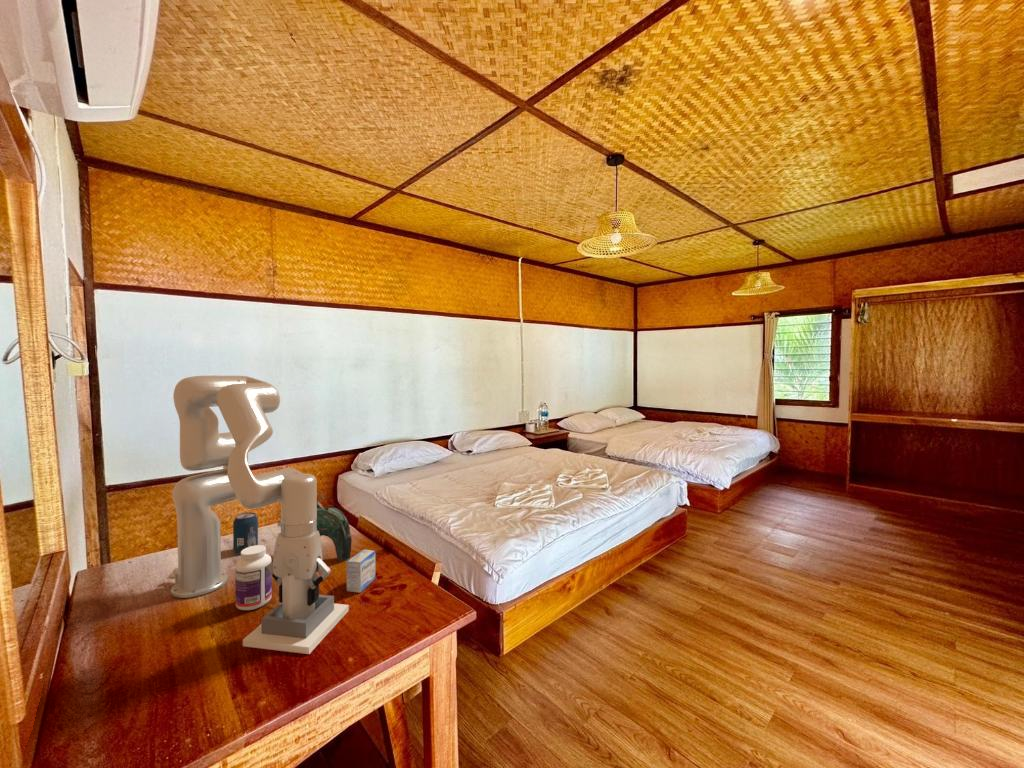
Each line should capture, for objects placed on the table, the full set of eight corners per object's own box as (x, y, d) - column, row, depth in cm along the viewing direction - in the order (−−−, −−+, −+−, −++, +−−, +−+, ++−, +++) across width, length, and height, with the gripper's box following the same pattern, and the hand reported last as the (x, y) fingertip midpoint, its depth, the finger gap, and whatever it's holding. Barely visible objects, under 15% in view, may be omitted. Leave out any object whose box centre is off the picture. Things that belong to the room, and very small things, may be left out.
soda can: (240, 546, 139) (240, 511, 138) (261, 545, 140) (261, 511, 139) (228, 555, 132) (228, 519, 131) (251, 554, 133) (251, 518, 132)
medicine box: (360, 593, 111) (360, 562, 111) (346, 591, 112) (346, 560, 112) (375, 579, 119) (375, 550, 118) (362, 577, 120) (362, 548, 119)
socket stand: (242, 646, 89) (242, 624, 89) (291, 604, 105) (291, 586, 105) (309, 654, 87) (309, 631, 87) (348, 610, 103) (348, 591, 103)
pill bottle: (259, 591, 111) (259, 540, 110) (278, 599, 107) (278, 546, 107) (228, 607, 104) (228, 552, 103) (247, 616, 100) (247, 559, 100)
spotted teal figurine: (296, 552, 135) (296, 493, 134) (312, 545, 141) (312, 488, 140) (341, 564, 127) (341, 502, 126) (356, 556, 133) (356, 496, 132)
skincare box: (307, 608, 100) (308, 560, 100) (316, 615, 97) (316, 566, 97) (281, 619, 95) (281, 569, 95) (288, 627, 92) (288, 576, 92)
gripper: (253, 530, 93) (254, 606, 93) (323, 536, 91) (323, 614, 91) (277, 518, 100) (277, 589, 101) (341, 523, 98) (341, 595, 99)
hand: (298, 600), depth 96 cm, fingers closed on skincare box, 6 cm apart
